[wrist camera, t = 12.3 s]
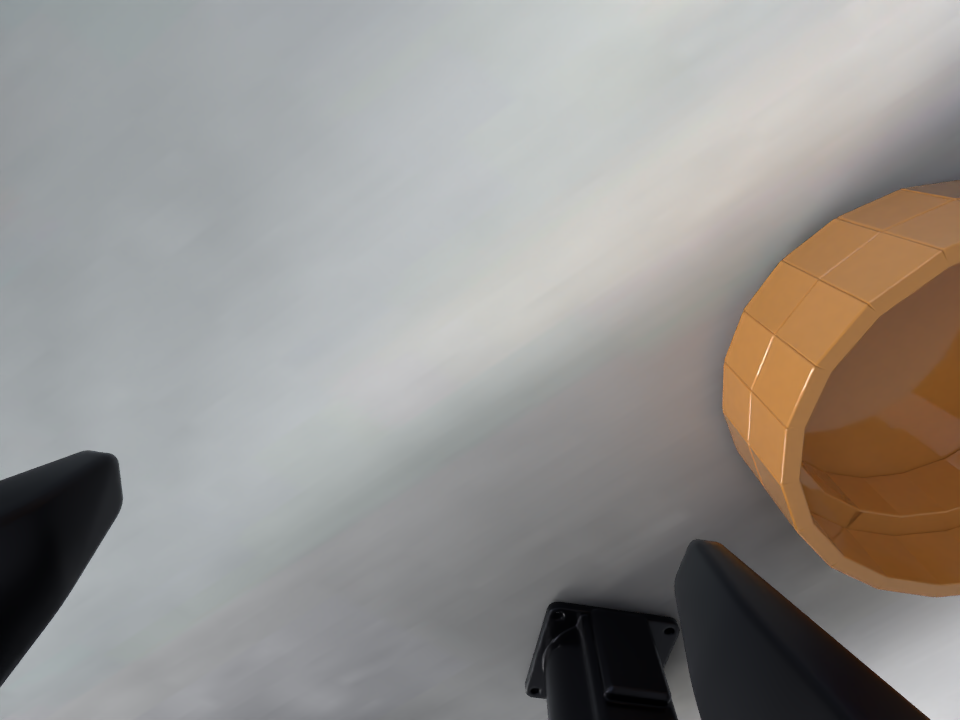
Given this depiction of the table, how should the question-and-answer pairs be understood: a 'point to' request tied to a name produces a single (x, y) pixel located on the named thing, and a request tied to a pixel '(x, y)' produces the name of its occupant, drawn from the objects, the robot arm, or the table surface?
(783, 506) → the bowl
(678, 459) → the table surface
